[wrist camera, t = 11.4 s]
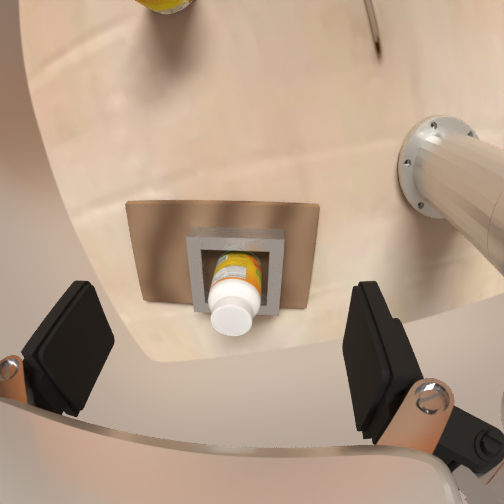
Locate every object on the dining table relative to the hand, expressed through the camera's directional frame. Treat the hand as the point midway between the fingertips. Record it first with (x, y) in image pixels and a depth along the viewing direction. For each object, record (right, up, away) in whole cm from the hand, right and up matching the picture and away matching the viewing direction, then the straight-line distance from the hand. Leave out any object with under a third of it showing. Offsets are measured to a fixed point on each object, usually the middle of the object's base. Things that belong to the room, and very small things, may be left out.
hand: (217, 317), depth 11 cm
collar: (-1, 0, +27) cm, 27 cm away
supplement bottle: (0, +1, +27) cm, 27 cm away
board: (-3, +2, +27) cm, 27 cm away
